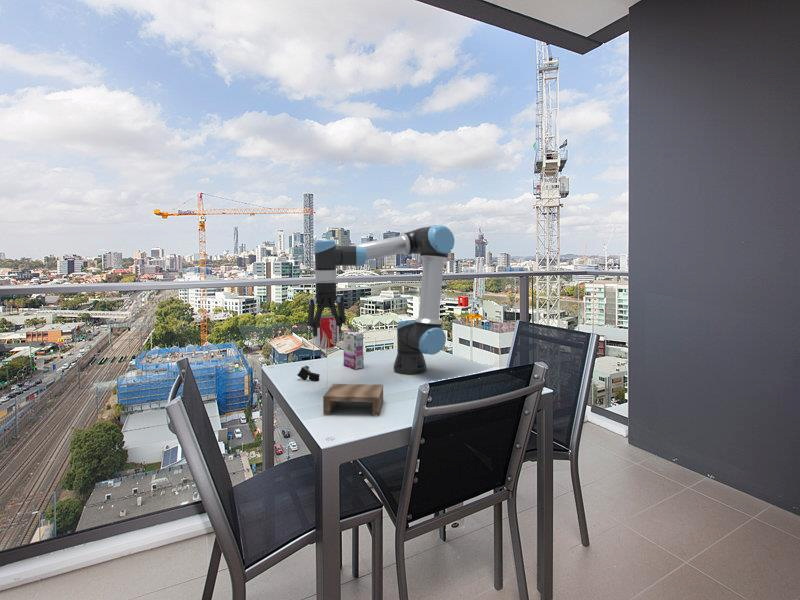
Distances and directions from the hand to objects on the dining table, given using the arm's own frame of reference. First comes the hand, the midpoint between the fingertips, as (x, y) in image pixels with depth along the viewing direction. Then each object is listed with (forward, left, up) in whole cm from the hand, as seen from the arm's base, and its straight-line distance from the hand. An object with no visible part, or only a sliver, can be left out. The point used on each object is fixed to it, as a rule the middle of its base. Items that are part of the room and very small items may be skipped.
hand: (327, 343), depth 151 cm
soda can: (0, 0, -2) cm, 2 cm away
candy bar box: (-3, -40, -19) cm, 45 cm away
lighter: (+12, -17, -19) cm, 29 cm away
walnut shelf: (-13, +15, -19) cm, 27 cm away
